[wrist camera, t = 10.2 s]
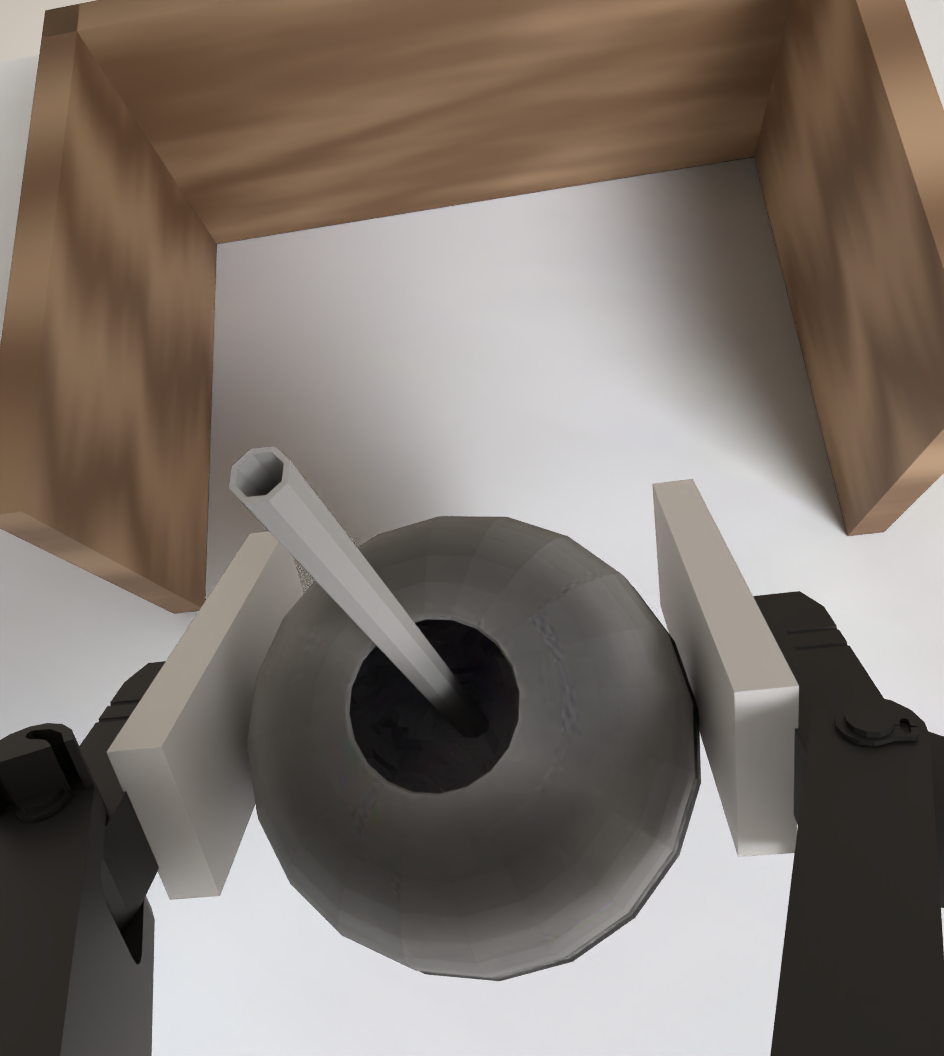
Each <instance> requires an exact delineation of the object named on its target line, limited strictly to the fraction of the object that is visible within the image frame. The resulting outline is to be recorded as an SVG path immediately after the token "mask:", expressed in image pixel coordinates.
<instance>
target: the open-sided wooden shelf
mask: <svg viewBox="0 0 944 1056" xmlns="http://www.w3.org/2000/svg"><path fill="white" fill-rule="evenodd" d="M749 157H754V158H755V162H756V166H757V170H758V174H759V178H760V183H761V187H762V191H763V195H764V199H765V203H766V207H767V211H768V215H769V219H770V223H771V227H772V231H773V235H774V239H775V243H776V247H777V251H778V256H779V260H780V264H781V268H782V272H783V276H784V280H785V284H786V288H787V292H788V296H789V300H790V304H791V308H792V312H793V316H794V320H795V324H796V329H797V333H798V337H799V341H800V345H801V349H802V353H803V357H804V361H805V365H806V369H807V373H808V377H809V381H810V385H811V389H812V393H813V397H814V402H815V406H816V410H817V414H818V418H819V422H820V426H821V430H822V434H823V438H824V442H825V446H826V450H827V454H828V458H829V462H830V466H831V470H832V475H833V479H834V483H835V487H836V491H837V495H838V499H839V503H840V507H841V511H842V515H843V519H844V523H845V527H846V531H847V535H848V536H853V535H862V534H870V533H879V532H885V531H886V530H887V529H888V528H889V527H890V526H891V525H892V524H893V523H894V522H895V521H896V520H897V519H898V518H899V517H900V516H901V515H902V514H903V513H904V512H905V511H906V510H907V509H908V508H909V507H910V506H911V505H912V504H913V503H914V502H915V501H916V500H917V499H918V498H919V497H920V496H921V495H922V494H923V493H924V492H925V491H926V490H927V489H928V488H929V487H930V486H931V485H932V484H933V483H934V482H935V481H936V480H937V479H938V478H939V477H940V476H941V475H942V474H943V473H944V110H943V107H942V104H941V101H940V98H939V95H938V93H937V90H936V87H935V84H934V81H933V78H932V76H931V73H930V70H929V67H928V64H927V62H926V59H925V56H924V53H923V50H922V47H921V45H920V42H919V39H918V36H917V33H916V30H915V28H914V25H913V22H912V19H911V16H910V14H909V11H908V8H907V5H906V2H905V0H96V1H92V2H87V3H81V4H76V5H71V6H66V7H61V8H56V9H51V10H46V11H45V17H44V25H43V32H42V40H41V48H40V55H39V62H38V69H37V77H36V84H35V92H34V99H33V107H32V114H31V122H30V129H29V137H28V144H27V152H26V159H25V167H24V174H23V182H22V189H21V197H20V204H19V211H18V219H17V226H16V234H15V241H14V249H13V256H12V264H11V271H10V279H9V286H8V294H7V301H6V309H5V316H4V324H3V331H2V339H1V346H0V529H3V530H5V531H7V532H9V533H11V534H13V535H15V536H17V537H19V538H21V539H23V540H25V541H27V542H29V543H31V544H33V545H35V546H37V547H39V548H41V549H43V550H45V551H47V552H49V553H52V554H54V555H56V556H58V557H60V558H62V559H64V560H66V561H68V562H70V563H72V564H74V565H76V566H78V567H80V568H82V569H84V570H86V571H88V572H90V573H92V574H94V575H96V576H98V577H101V578H103V579H105V580H107V581H109V582H111V583H113V584H115V585H117V586H119V587H121V588H123V589H125V590H127V591H129V592H131V593H133V594H135V595H137V596H139V597H141V598H143V599H145V600H147V601H149V602H152V603H154V604H156V605H158V606H160V607H162V608H164V609H166V610H168V611H170V612H172V613H182V612H191V611H199V610H200V609H201V607H202V606H203V604H204V603H205V584H206V553H207V523H208V492H209V462H210V431H211V400H212V370H213V339H214V309H215V278H216V247H217V244H219V243H225V242H231V241H237V240H244V239H250V238H256V237H262V236H268V235H274V234H281V233H287V232H293V231H299V230H305V229H311V228H317V227H324V226H330V225H336V224H342V223H348V222H354V221H361V220H367V219H373V218H379V217H385V216H391V215H398V214H404V213H410V212H416V211H422V210H428V209H435V208H441V207H447V206H453V205H459V204H465V203H472V202H478V201H484V200H490V199H496V198H502V197H509V196H515V195H521V194H527V193H533V192H539V191H545V190H552V189H558V188H564V187H570V186H576V185H582V184H589V183H595V182H601V181H607V180H613V179H619V178H626V177H632V176H638V175H644V174H650V173H656V172H663V171H669V170H675V169H681V168H687V167H693V166H700V165H706V164H712V163H718V162H724V161H730V160H737V159H743V158H749Z"/></svg>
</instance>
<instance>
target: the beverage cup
mask: <svg viewBox="0 0 944 1056" xmlns="http://www.w3.org/2000/svg"><path fill="white" fill-rule="evenodd" d="M229 489H230V490H231V491H232V492H233V493H234V494H235V496H236V497H237V498H238V499H239V500H240V501H241V502H242V503H243V504H244V505H245V506H246V507H247V508H248V509H249V510H250V511H251V513H252V514H253V515H254V516H255V517H256V518H257V519H258V520H259V521H260V522H261V523H262V524H263V525H264V526H265V527H266V529H267V530H268V531H269V532H270V533H271V534H272V535H273V536H274V537H275V538H276V539H277V540H278V541H279V542H280V543H281V544H282V546H283V547H284V548H285V549H286V550H287V551H288V552H289V553H290V554H291V555H292V556H293V557H294V558H295V559H296V560H297V561H298V563H299V564H300V565H301V566H302V567H303V568H304V569H305V570H306V571H307V572H308V573H309V574H310V575H311V576H312V577H313V578H314V580H315V582H314V583H313V584H312V585H311V586H310V587H309V588H308V590H307V591H306V592H305V593H304V594H303V595H302V597H301V598H300V599H299V600H298V601H297V602H296V604H295V605H294V606H293V607H292V608H291V609H290V611H289V612H288V613H287V614H286V615H285V616H284V618H283V620H282V622H281V624H280V626H279V628H278V631H277V633H276V635H275V637H274V639H273V642H272V644H271V646H270V648H269V650H268V653H267V655H266V657H265V659H264V661H263V663H262V666H261V668H260V670H259V672H258V674H257V677H256V682H255V688H254V695H253V702H252V709H251V716H250V723H249V730H248V737H247V751H248V758H249V764H250V771H251V777H252V784H253V790H254V797H255V803H256V810H257V815H258V819H259V821H260V823H261V826H262V828H263V830H264V832H265V834H266V836H267V838H268V840H269V842H270V844H271V846H272V848H273V850H274V852H275V854H276V856H277V858H278V860H279V862H280V864H281V866H282V868H283V870H284V872H285V874H286V876H287V878H288V880H289V882H290V884H291V885H292V886H293V887H294V888H295V889H296V890H297V891H298V892H299V893H300V894H301V895H302V896H303V897H304V898H305V899H306V900H307V901H308V902H309V903H310V904H311V905H312V906H313V907H314V908H315V909H316V910H317V911H318V912H319V913H320V914H321V915H322V916H323V917H324V918H325V919H326V920H327V921H328V922H329V923H330V924H331V925H332V926H333V927H334V928H335V929H336V930H337V931H338V932H339V933H340V934H341V935H342V936H344V937H346V938H349V939H351V940H353V941H355V942H357V943H359V944H361V945H363V946H365V947H367V948H370V949H372V950H374V951H376V952H378V953H380V954H382V955H384V956H386V957H388V958H391V959H393V960H395V961H397V962H399V963H401V964H403V965H405V966H407V967H409V968H412V969H414V970H416V971H420V972H422V973H424V974H429V975H439V976H450V977H461V978H472V979H482V980H493V981H502V980H506V979H510V978H513V977H517V976H521V975H524V974H528V973H532V972H536V971H539V970H543V969H547V968H550V967H554V966H558V965H562V964H565V963H569V962H573V961H574V960H576V959H577V958H578V957H580V956H581V955H583V954H584V953H585V952H587V951H588V950H590V949H591V948H593V947H594V946H595V945H597V944H598V943H600V942H601V941H603V940H604V939H605V938H607V937H608V936H610V935H611V934H612V933H614V932H615V931H617V930H618V929H620V928H621V927H622V926H624V925H625V924H627V923H628V922H629V921H631V920H632V919H634V918H635V917H636V916H637V914H638V913H639V911H640V910H641V909H642V907H643V906H644V904H645V903H646V901H647V900H648V899H649V897H650V896H651V894H652V893H653V892H654V890H655V889H656V887H657V886H658V885H659V883H660V882H661V880H662V879H663V878H664V876H665V875H666V873H667V872H668V870H669V869H670V868H671V866H672V865H673V863H674V862H675V861H676V859H677V858H678V856H679V855H680V851H681V848H682V845H683V841H684V838H685V835H686V831H687V828H688V824H689V821H690V818H691V814H692V811H693V808H694V804H695V801H696V797H697V794H698V791H699V787H700V784H701V768H700V733H699V718H698V708H697V704H696V700H695V697H694V694H693V691H692V688H691V685H690V683H689V680H688V677H687V674H686V671H685V668H684V666H683V663H682V660H681V657H680V654H679V652H678V649H677V646H676V643H675V641H674V640H673V638H672V637H671V636H670V634H669V633H668V632H667V631H666V629H665V628H664V627H663V625H662V624H661V623H660V621H659V620H658V619H657V617H656V616H655V615H654V613H653V612H652V611H651V609H650V608H649V607H648V605H647V604H646V603H645V601H644V600H643V599H642V597H641V596H640V595H639V593H638V592H637V591H636V590H635V588H634V587H633V586H632V585H631V584H630V583H629V581H628V580H627V579H626V578H625V577H624V576H623V575H622V574H621V573H619V572H618V571H616V570H615V569H613V568H612V567H611V566H609V565H608V564H606V563H605V562H604V561H602V560H601V559H599V558H598V557H597V556H595V555H594V554H592V553H591V552H589V551H588V550H587V549H585V548H584V547H582V546H581V545H580V544H578V543H577V542H575V541H574V540H572V539H571V538H570V537H568V536H565V535H562V534H559V533H556V532H552V531H549V530H546V529H543V528H540V527H537V526H534V525H531V524H527V523H524V522H521V521H518V520H515V519H512V518H509V517H458V516H442V517H436V518H432V519H429V520H426V521H422V522H419V523H415V524H412V525H409V526H405V527H402V528H398V529H395V530H392V531H388V532H385V533H381V534H378V535H377V536H375V537H374V538H372V539H371V540H369V541H367V542H366V543H364V544H363V545H361V546H360V547H358V548H357V547H356V546H355V544H354V543H353V542H352V540H351V539H350V538H349V536H348V535H347V534H346V533H345V531H344V530H343V529H342V527H341V526H340V525H339V523H338V522H337V521H336V519H335V518H334V517H333V515H332V514H331V513H330V512H329V510H328V509H327V508H326V506H325V505H324V504H323V502H322V501H321V500H320V498H319V497H318V496H317V494H316V493H315V492H314V491H313V489H312V488H311V487H310V485H309V484H308V483H307V481H306V480H305V479H304V477H303V476H302V475H301V473H300V472H299V471H298V470H297V468H296V467H295V466H294V464H293V463H292V462H291V460H290V459H289V458H287V457H286V456H285V455H284V454H283V453H282V452H281V451H280V450H279V449H278V448H276V447H275V446H271V447H262V448H252V449H250V450H249V451H248V452H247V453H246V454H244V455H243V456H242V457H241V458H240V459H239V460H238V461H237V462H236V463H235V464H233V465H232V469H231V476H230V483H229Z"/></svg>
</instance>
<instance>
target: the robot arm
mask: <svg viewBox="0 0 944 1056" xmlns="http://www.w3.org/2000/svg"><path fill="white" fill-rule="evenodd" d="M653 499H654V514H655V529H656V544H657V559H658V574H659V589H660V604H661V608H662V612H663V615H664V618H665V621H666V625H667V628H668V631H669V634H670V636H671V637H672V638H673V640H674V641H675V643H676V646H677V649H678V652H679V654H680V657H681V660H682V663H683V666H684V668H685V671H686V674H687V677H688V680H689V683H690V685H691V688H692V691H693V694H694V697H695V700H696V704H697V708H698V718H699V731H700V734H701V738H702V741H703V744H704V747H705V751H706V754H707V757H708V760H709V764H710V767H711V770H712V773H713V776H714V780H715V783H716V786H717V789H718V793H719V796H720V799H721V802H722V806H723V809H724V812H725V815H726V819H727V822H728V825H729V828H730V831H731V835H732V838H733V841H734V844H735V848H736V851H737V854H738V857H743V856H757V855H770V854H783V853H795V854H794V863H793V871H792V879H791V888H790V896H789V905H788V913H787V921H786V930H785V938H784V947H783V955H782V963H781V972H780V980H779V989H778V997H777V1005H776V1014H775V1022H774V1031H773V1039H772V1047H771V1056H944V951H943V935H942V919H941V907H942V908H944V736H940V735H937V734H934V733H931V732H928V730H927V727H926V725H925V722H924V721H922V720H921V719H920V718H919V717H918V716H917V715H916V714H915V713H914V712H913V711H912V710H910V709H908V708H906V707H904V706H902V705H900V704H898V703H896V702H894V701H891V700H887V699H884V698H883V696H882V695H881V693H880V692H879V690H878V689H877V687H876V686H875V684H874V683H873V681H872V680H871V678H870V676H869V675H868V673H867V672H866V670H865V669H864V667H863V666H862V664H861V663H860V661H859V660H858V658H857V657H856V655H855V654H854V652H853V650H852V649H851V647H850V646H847V641H846V640H845V638H844V637H843V635H842V634H841V632H840V631H839V630H837V627H836V624H835V623H834V621H833V620H832V618H831V617H830V615H829V614H828V612H827V611H826V609H825V608H824V606H822V605H821V604H819V603H817V602H816V601H814V600H813V599H811V598H809V597H808V596H806V595H805V594H803V593H802V592H800V591H797V592H788V593H779V594H769V595H760V596H752V594H751V592H750V590H749V588H748V586H747V584H746V582H745V580H744V578H743V576H742V574H741V572H740V570H739V568H738V566H737V564H736V562H735V561H734V559H733V557H732V555H731V553H730V551H729V549H728V547H727V545H726V543H725V541H724V539H723V537H722V535H721V533H720V531H719V529H718V527H717V526H716V524H715V522H714V520H713V518H712V516H711V514H710V512H709V510H708V508H707V506H706V504H705V502H704V500H703V498H702V496H701V494H700V492H699V491H698V489H697V487H696V485H695V483H694V481H693V479H689V480H681V481H672V482H664V483H656V484H653ZM303 594H304V593H303V589H302V585H301V582H300V578H299V575H298V571H297V567H296V564H295V560H294V557H293V556H292V555H291V554H290V553H289V552H288V551H287V550H286V549H285V548H284V547H283V546H282V544H281V543H280V542H279V541H278V540H277V539H276V538H275V537H274V536H273V535H272V534H271V533H270V532H269V531H265V532H257V533H250V534H249V535H248V537H247V538H246V540H245V542H244V543H243V545H242V546H241V548H240V549H239V551H238V552H237V554H236V555H235V557H234V558H233V560H232V561H231V563H230V564H229V566H228V567H227V569H226V571H225V572H224V574H223V575H222V577H221V578H220V580H219V581H218V583H217V584H216V586H215V587H214V589H213V590H212V592H211V593H210V595H209V596H208V598H207V600H206V601H205V603H204V604H203V606H202V607H201V609H200V610H199V612H198V613H197V615H196V616H195V618H194V619H193V621H192V622H191V624H190V625H189V627H188V628H187V630H186V632H185V633H184V635H183V636H182V638H181V639H180V641H179V642H178V644H177V645H176V647H175V648H174V650H173V651H172V653H171V654H170V656H169V657H168V659H167V661H164V662H155V663H148V664H147V665H146V666H144V667H143V668H142V669H141V670H139V671H138V672H137V673H136V674H134V675H133V676H132V677H130V678H129V679H128V680H127V681H125V682H124V684H123V685H122V687H121V688H120V689H119V691H118V692H117V694H116V695H115V697H114V698H113V699H112V701H111V702H110V703H111V706H107V708H106V709H105V711H104V712H103V714H102V715H101V716H100V718H99V723H95V725H94V726H93V728H92V729H91V731H90V732H89V733H88V735H87V736H86V738H85V739H84V740H83V742H82V743H81V745H80V746H79V745H78V743H77V741H76V738H75V736H74V734H73V732H72V730H71V729H70V728H68V727H66V726H65V725H63V724H52V723H46V724H41V725H36V726H31V727H28V728H25V729H23V730H20V731H18V732H15V733H13V734H10V735H8V736H6V737H5V738H3V739H1V740H0V1056H151V1052H152V1009H153V965H154V922H155V920H154V916H153V912H152V908H151V906H150V904H149V902H148V899H147V897H146V894H147V892H148V890H149V888H150V886H151V883H152V881H153V879H154V877H155V875H156V873H157V871H158V873H159V875H160V878H161V880H162V882H163V885H164V887H165V889H166V891H167V894H168V896H169V898H170V899H184V898H197V897H210V896H220V894H221V892H222V889H223V887H224V884H225V881H226V879H227V876H228V874H229V871H230V868H231V866H232V863H233V861H234V858H235V855H236V853H237V850H238V848H239V845H240V842H241V840H242V837H243V835H244V832H245V829H246V827H247V824H248V821H249V819H250V816H251V814H252V811H253V808H254V806H255V797H254V790H253V784H252V777H251V771H250V764H249V758H248V751H247V737H248V730H249V723H250V716H251V709H252V702H253V695H254V688H255V682H256V677H257V674H258V672H259V670H260V668H261V666H262V663H263V661H264V659H265V657H266V655H267V653H268V650H269V648H270V646H271V644H272V642H273V639H274V637H275V635H276V633H277V631H278V628H279V626H280V624H281V622H282V620H283V618H284V616H285V615H286V614H287V613H288V612H289V611H290V609H291V608H292V607H293V606H294V605H295V604H296V602H297V601H298V600H299V599H300V598H301V597H302V595H303ZM797 825H798V829H797Z"/></svg>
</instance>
